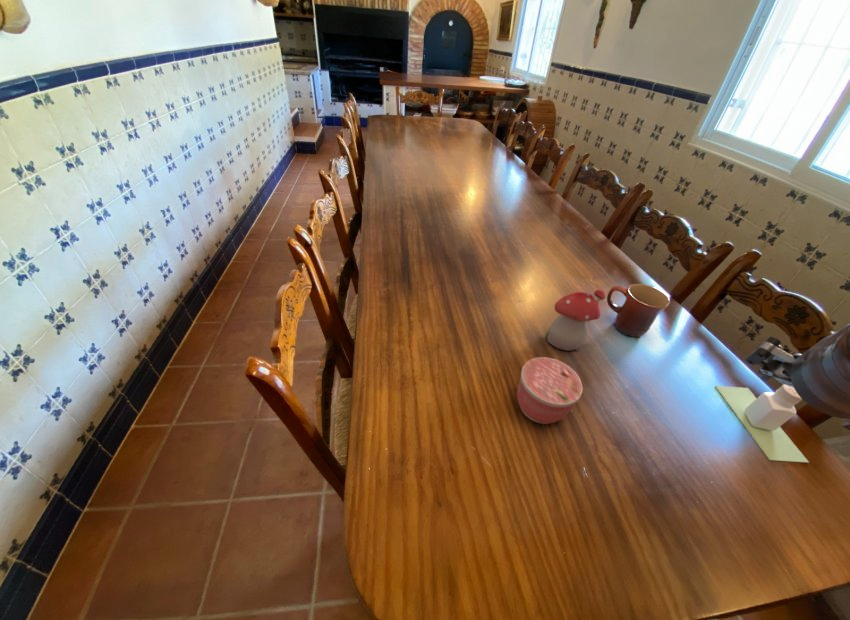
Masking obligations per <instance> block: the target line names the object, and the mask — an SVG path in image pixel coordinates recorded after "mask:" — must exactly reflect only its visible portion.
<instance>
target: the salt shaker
mask: <svg viewBox="0 0 850 620" xmlns="http://www.w3.org/2000/svg"><path fill="white" fill-rule="evenodd" d="M756 398H757V399H756V400H755V401H754V402H752V403H751V404H750V405H749V406H748V407H747V408H746V409H745V414H746V416H747V418H748V420H749V421H750V423H751V425H752V426H754V427H757V428H761V429H766V430H770V431H774V430H776V429H777V428H779V427H782V426H783V425H784V424H785V423H786V422H787V421H789V420H790V419H792V418H794V416H795V415H797V409H796V407H795V405H797V404H799V403H800V402H801V401H802V400H803V399H802V398H801V397H800V396H799V395H798V393H797V392H796V391H795V389H794V387H791V386H788V385H785V384H782V385H781V386H780V387H779V388H777V389H776V390H775V392H773V391H765V392H762V393H761V394H760V395H759V396H758V397H756Z"/></svg>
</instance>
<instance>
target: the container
mask: <svg viewBox="0 0 850 620" xmlns="http://www.w3.org/2000/svg"><path fill="white" fill-rule="evenodd" d="M516 388H517V389H516V399H517V404H518V405H519V409H520V410H521V412H522V413H523V414H524V415H525V417H526V418H528V419H529V420H531V421H533V422H534V423H538V424H541V425H549V424H554V423H556V422H557V423H558V422H559V421H562V420H563V419H564V418H566V417H567V415H568V414H569V413H570V411H571V410H572V408H573V407H574V405H575V404H576V403H577V402H578V401H579V400H580V398H581V396H582V394H583V384H582V381H581V378H580V376H579V375H578V374H577V372H576V371H575V370H574V369H573V368H572V367H570V366H569V365H568V364H566V363H565V362H563V361H561V360H559V359H555V358H553V357H552V358H551V357H548V356H547V357H545V356H543V357H542V356H540V357H534V358H531V359H529V360H527V361H526V362H525V364H524V365H523V366H522V368H521V372H520V378H519V381H518V385H517V387H516Z"/></svg>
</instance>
